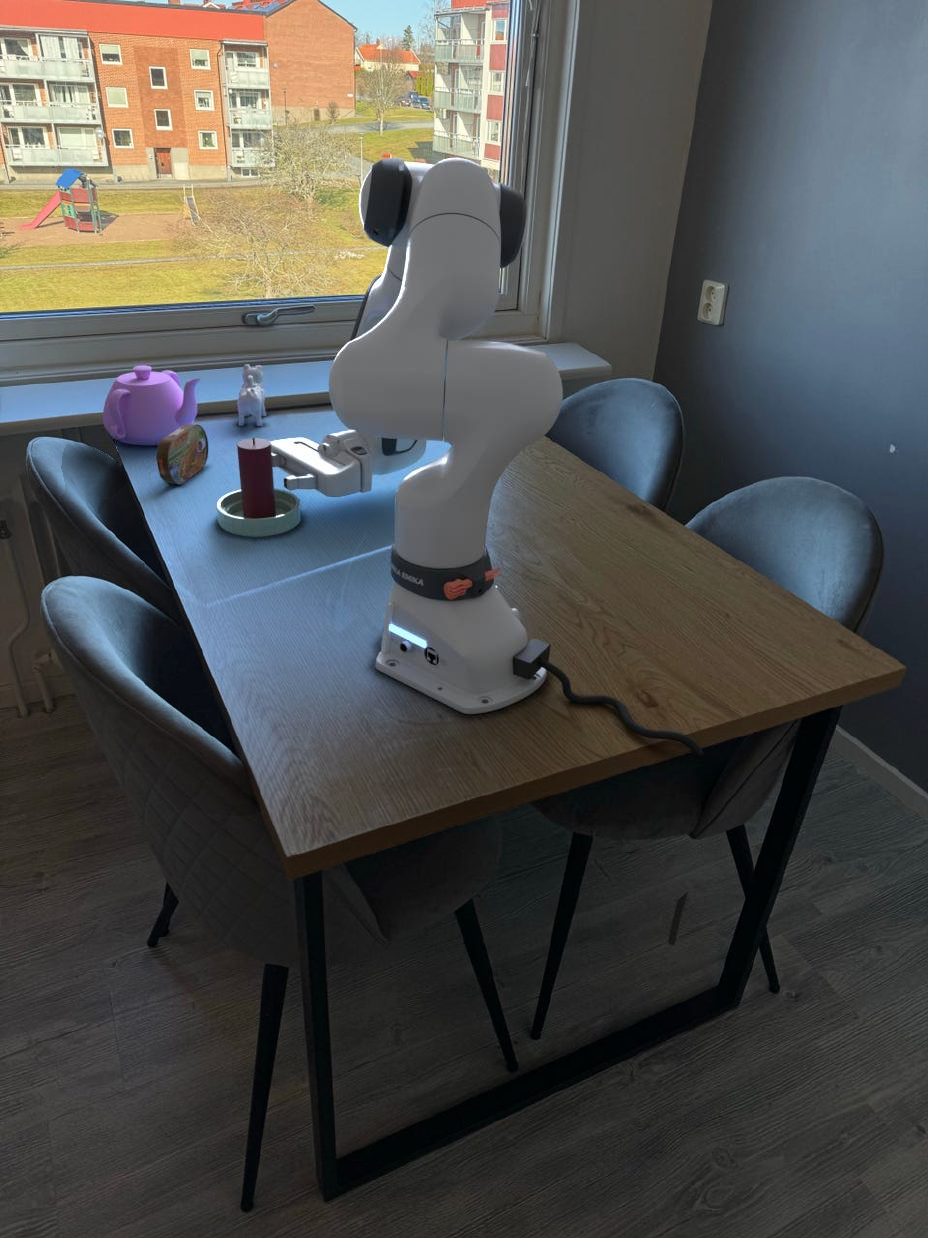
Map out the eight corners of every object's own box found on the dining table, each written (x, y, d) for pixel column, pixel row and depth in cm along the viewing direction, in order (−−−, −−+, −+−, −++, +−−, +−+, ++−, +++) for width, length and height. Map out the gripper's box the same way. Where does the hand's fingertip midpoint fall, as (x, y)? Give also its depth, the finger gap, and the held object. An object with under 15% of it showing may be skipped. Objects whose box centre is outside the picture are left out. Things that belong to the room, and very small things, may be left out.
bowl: (316, 525, 144) (315, 507, 143) (243, 545, 137) (242, 526, 135) (274, 498, 153) (273, 481, 151) (204, 516, 145) (202, 498, 143)
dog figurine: (268, 409, 195) (265, 360, 189) (263, 427, 184) (260, 376, 179) (243, 408, 194) (240, 360, 189) (237, 427, 183) (233, 376, 178)
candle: (282, 520, 144) (276, 439, 137) (253, 528, 141) (246, 445, 134) (265, 510, 148) (259, 430, 140) (237, 517, 145) (230, 436, 137)
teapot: (175, 464, 164) (166, 390, 157) (78, 446, 170) (65, 374, 163) (238, 429, 182) (232, 362, 175) (148, 414, 188) (139, 348, 181)
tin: (173, 491, 153) (167, 445, 149) (157, 489, 154) (150, 443, 149) (211, 462, 166) (207, 418, 162) (196, 460, 166) (191, 416, 162)
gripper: (308, 424, 155) (237, 438, 147) (376, 458, 142) (303, 476, 134) (309, 458, 158) (240, 474, 150) (376, 494, 145) (305, 514, 137)
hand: (270, 475), depth 142 cm, fingers open, 8 cm apart
